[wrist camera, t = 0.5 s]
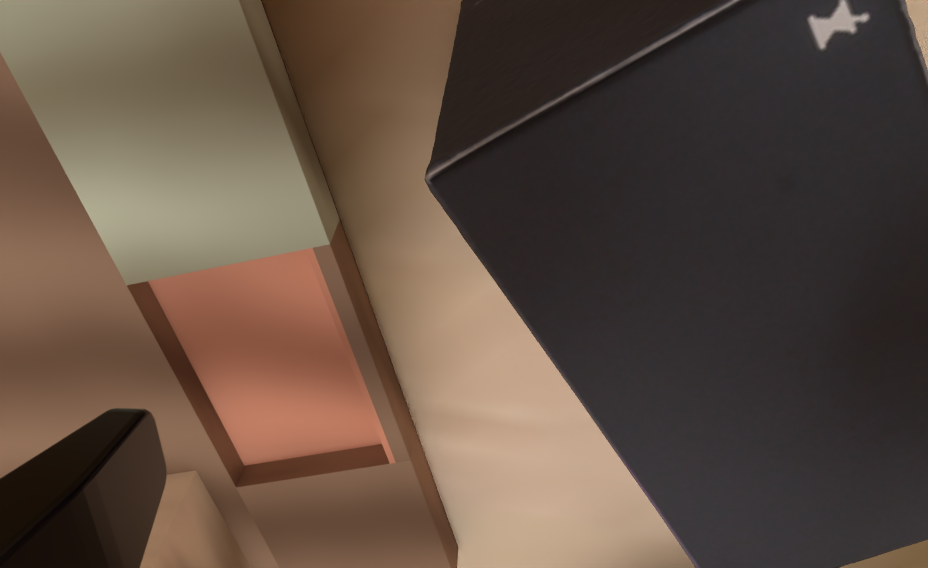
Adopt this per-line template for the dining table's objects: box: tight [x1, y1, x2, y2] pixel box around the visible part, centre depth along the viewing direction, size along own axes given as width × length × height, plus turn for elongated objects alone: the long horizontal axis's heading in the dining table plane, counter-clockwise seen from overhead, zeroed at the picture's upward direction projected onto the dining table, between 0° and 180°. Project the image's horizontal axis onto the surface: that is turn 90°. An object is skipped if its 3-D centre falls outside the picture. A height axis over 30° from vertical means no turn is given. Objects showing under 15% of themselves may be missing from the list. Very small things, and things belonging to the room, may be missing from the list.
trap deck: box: [0, 0, 458, 568], centre depth 24 cm, size 23×20×3 cm
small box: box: [425, 0, 928, 568], centre depth 16 cm, size 11×6×10 cm, turn 32°
